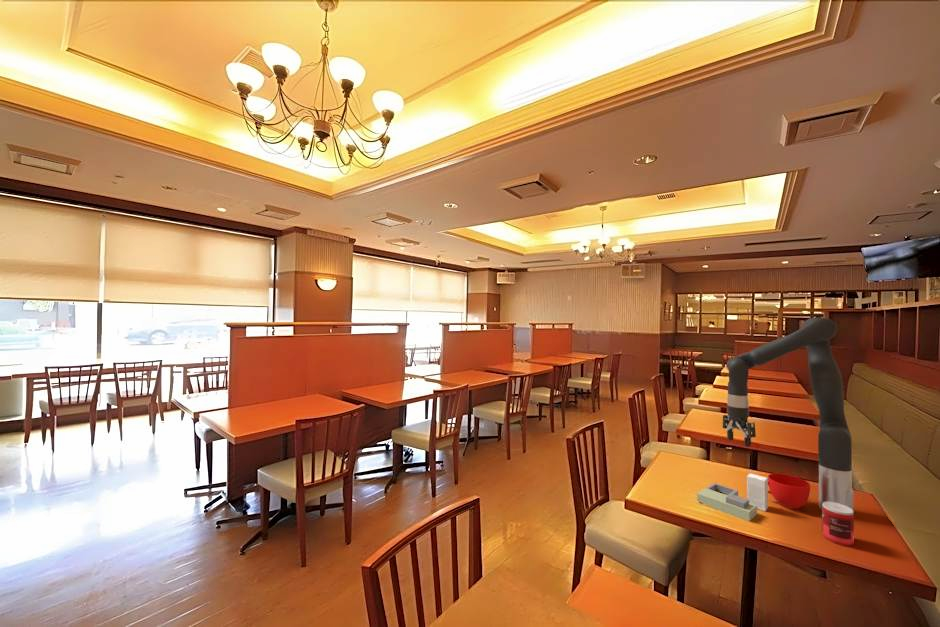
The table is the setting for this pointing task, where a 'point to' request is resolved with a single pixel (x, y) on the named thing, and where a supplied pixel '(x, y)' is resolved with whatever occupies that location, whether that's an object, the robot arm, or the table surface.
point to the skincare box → (757, 491)
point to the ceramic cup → (788, 490)
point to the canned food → (838, 523)
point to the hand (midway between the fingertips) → (738, 443)
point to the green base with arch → (727, 501)
